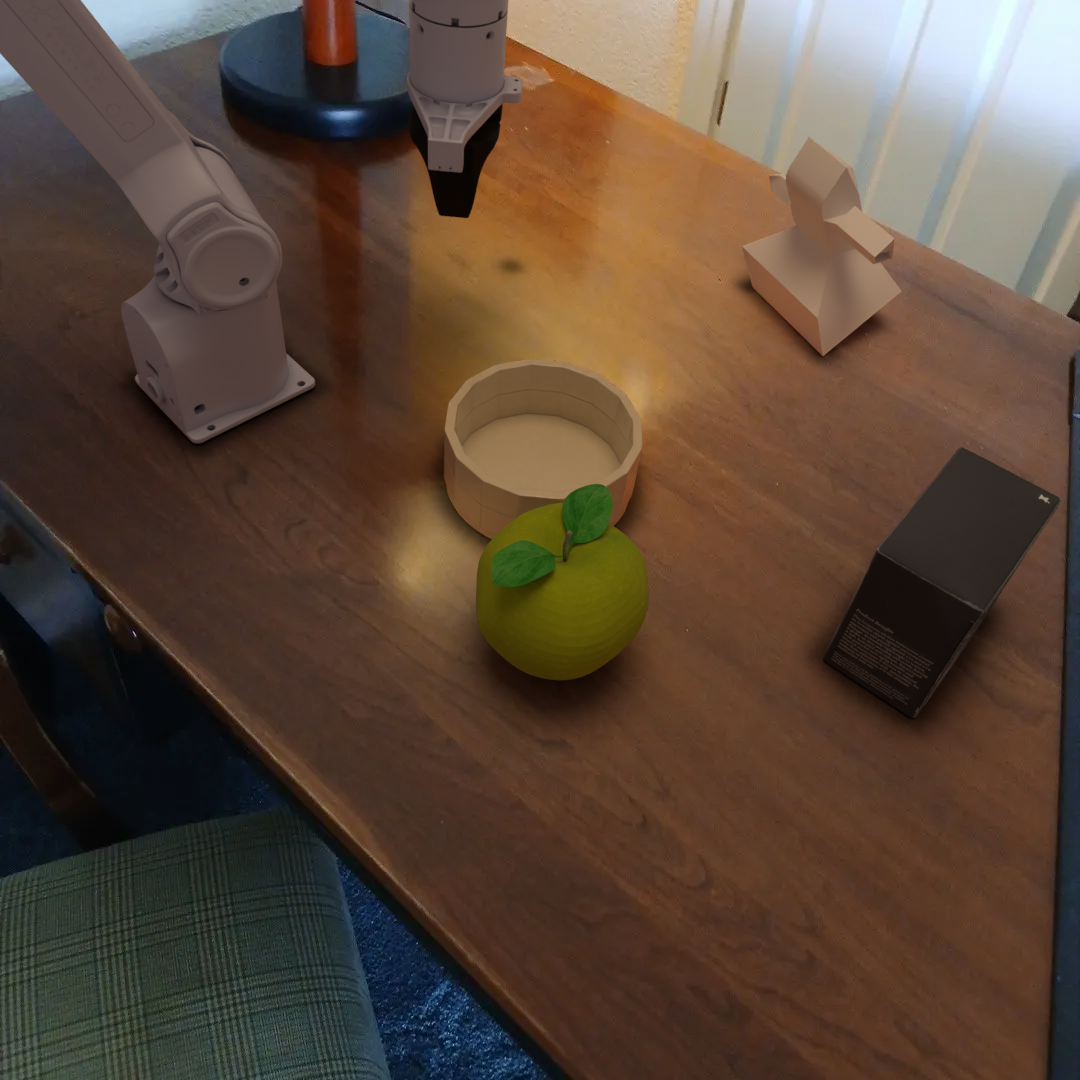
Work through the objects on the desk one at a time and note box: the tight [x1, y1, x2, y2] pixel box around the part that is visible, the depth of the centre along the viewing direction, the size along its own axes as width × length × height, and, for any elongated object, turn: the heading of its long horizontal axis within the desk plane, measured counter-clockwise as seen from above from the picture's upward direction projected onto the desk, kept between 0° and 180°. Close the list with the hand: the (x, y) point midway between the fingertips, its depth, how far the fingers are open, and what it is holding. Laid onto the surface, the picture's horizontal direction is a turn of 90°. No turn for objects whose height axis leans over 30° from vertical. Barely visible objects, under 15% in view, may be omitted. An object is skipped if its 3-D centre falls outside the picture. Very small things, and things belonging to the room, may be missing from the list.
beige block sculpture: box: [741, 136, 902, 357], centre depth 78 cm, size 8×14×14 cm, turn 29°
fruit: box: [475, 484, 650, 681], centre depth 57 cm, size 9×9×10 cm
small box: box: [822, 446, 1062, 719], centre depth 59 cm, size 11×6×10 cm, turn 141°
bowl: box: [443, 358, 643, 540], centre depth 67 cm, size 12×12×5 cm
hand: (454, 211), depth 71 cm, fingers closed
